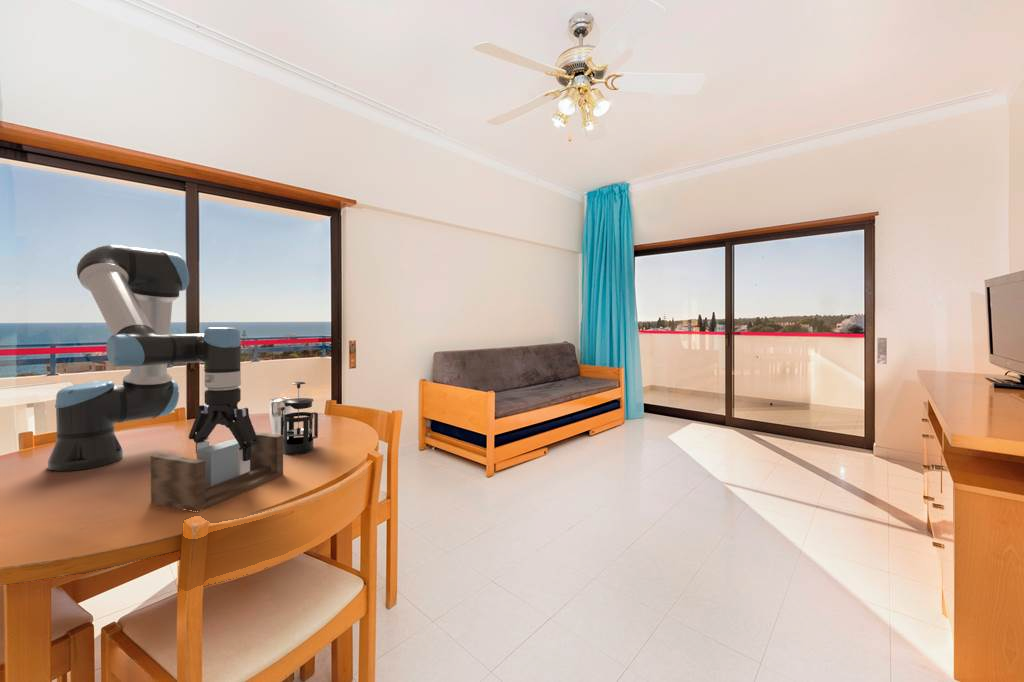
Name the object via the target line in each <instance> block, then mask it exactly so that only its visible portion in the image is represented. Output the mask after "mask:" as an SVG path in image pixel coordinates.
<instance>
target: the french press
mask: <svg viewBox="0 0 1024 682" xmlns="http://www.w3.org/2000/svg"><path fill="white" fill-rule="evenodd" d="M305 384H306V382H305V381H295V382H292V383H291V385H294V386H295V385H296V388H297V397H296V398H291V399H288V400H285V401H283V403H285V407H287V406H291V407H292V409H294V410H297V412H292V413H289V414H286V415H284V416H283V421H284V441H283V453H284V454H283V455H287V454H288V456H296V455H295V454H298V455H303V454H302V453H304V454H307V453H306V452H308V453H310V452H309V451H311V450H313V449H315V447H314V440H315V439H317V438H318V436H319V424H318V423H319V414H318V412H315V411H314V412H309V411H300V410H305V409H309V408H311V407H313V402H314V401H315V400H314V398H311V397H309V398H308V397H300V389H301V385H305ZM313 421H314V422H313ZM287 422H289V430H288V431H287ZM301 422H303V423H302V424H303V425H302V427H301V428H300V423H301ZM295 423H297V428H295ZM287 436H289V439H287ZM313 451H314V450H313ZM311 452H312V451H311Z"/></svg>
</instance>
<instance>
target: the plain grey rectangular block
mask: <svg viewBox="0 0 1024 682" xmlns="http://www.w3.org/2000/svg"><path fill="white" fill-rule="evenodd" d="M244 443H246V442H244ZM239 448H240V445H239V444H238V442H237V440H236V439H235V438H232V439H229V440H225V441H222V442H219V443H215V444H212V445H209V446H208V447H205V448H201V449H198V450H197V454H196V459H198V460H204V461H205V489H207V488H209V487H212V486H215V485H217V484H220V483H222V482H225V481H227V480H230V479H232V478H235V477H237V476H240V475H238V449H239ZM247 473H248V472H247ZM244 474H245V473H244ZM241 475H243V474H241Z"/></svg>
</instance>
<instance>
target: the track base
mask: <svg viewBox="0 0 1024 682" xmlns="http://www.w3.org/2000/svg"><path fill="white" fill-rule="evenodd" d="M255 433H256V436H257V438H258V441H259V443H258V444H257V445H254V446H252V448H251V460H250V471H249V472H248V473H245V474H243V475H240V476H237V477H235V478H232V479H230V480H227V481H225V482H222V483H220V484H217V485H215V486H212V487H209V488H207V489H205V461H204V460H198V459H197V458H190V457H184V456H176V455H171V454H170V455H169V454H164V453H158V454H154V455H152V456H150V503H151V505H156V506H161V505H163V506H162V507H166V506H169V507H168V508H171V507H174V508H173V509H176V508H179V509H178V510H181V509H186V510H192V511H196V512H197V511H199V512H201V511H203V510H205V509H208V508H210V507H212V506H215V505H218V504H219V503H221V502H224V501H226V500H228V499H230V498H233V497H235V496H237V495H239V494H240V495H241V494H242V493H244V492H247V491H249V490H251V489H253V488H256V487H258V486H260V485H262V484H265V483H267V482H269V481H271V480H275V479H276V478H278V477H281V476H283V475H284V454H283V435H276V434H272V433H266V432H258V431H255ZM252 441H253V440H252ZM202 509H203V510H202ZM186 510H185V511H186ZM200 510H201V511H200ZM196 512H195V513H196ZM197 513H198V512H197Z"/></svg>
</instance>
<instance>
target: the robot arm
mask: <svg viewBox="0 0 1024 682" xmlns="http://www.w3.org/2000/svg"><path fill="white" fill-rule="evenodd" d="M189 272H190V271H189V269H188V265H187V263H186V261H185V260H184V258H183V257H182V256H181V255H180V254H178V253H174V252H170V251H165V250H159V249H149V248H142V247H133V246H124V245H117V244H111V245H110V244H108V245H103V246H98V247H96V248H93V249H91V250H89V251H88V252H86V253H85V254H84V255H83V256H82V257H81V258H80V260H79V262H78V263H77V265H76V275H77V278H78V280H79V281H78V282H79V283H80V285H81V286H82V287H83V288H84V289H85V290H88V291H89V292H90V293H91V295H92V297H93V299H94V302H95V303H96V305H97V307H98V309H99V311H100V312H101V315H102V318H103V319H104V320H105V323H106V325H107V327H108V329H109V332H110V333H111V335H110V336H109V337H108V339H107V341H106V347H105V348H106V350H105V351H106V354H107V360H108V362H109V363H110V364H111V365H113V366H115V367H130V372H128V374H126V375H124V376H123V378H122V379H123V380H122V384H115V383H114V382H113V381H112V380H99V381H89V382H83V383H79V384H78V383H77V384H73V385H70V386H66V387H64V388H61V389H60V390H58V391H57V392H56V397H55V405H54V408H55V412H56V413H55V414H56V419H55V420H56V424H55V425H56V442H55V444H54V446H53V448H52V451H51V452H50V455H49V458H48V460H47V469H48V470H49V469H50V470H49V471H51V470H54V472H72V471H81V470H87V469H93V468H98V467H102V466H105V465H110V464H112V463H115V462H117V461H120V460H121V459H122V458H123V457H124V456H123V455H124V453H123V450H124V449H123V447H122V445H121V444H120V442H119V440H118V437H117V435H116V433H115V424H118V423H125V422H133V421H138V420H145V419H146V420H147V419H157V418H158V417H165V416H168V415H170V414H171V413H172V412H174V411H175V409H176V407H177V405H178V402H179V397H180V391H179V389H180V388H179V385H178V383H177V381H176V380H173V376H171V374H169V373H168V372H167V371H168V365H172V364H189V363H192V364H193V363H204V364H203V365H204V366H203V367H204V369H203V370H204V371H203V372H204V387H205V388H206V389H205V390H204V392H203V393H204V404H201V405H198V406H197V413H196V416H195V419H194V422H193V424H192V427H191V429H190V432H189V434H188V439H189V440H192V441H193V442H194V443H195V454H196V455H197V450H198V449H201V448H205V447H208V446H210V440H209V436H211V434H212V432H213V431H214V429H215V428H216V427H217V425H221V426H225V428H228V429H229V431H230V433H232V436H233V437H234V439H236V440H237V442H238V444H239V445H240V448H239V449H238V475H241V474H244V473H247V472H249V471H250V460H251V448H252V446H254V445H257V444H258V443H259V441H258V438H257V436H256V433H255V432H256V431H255V428H254V426H253V423H252V421H251V418H250V414H249V412H250V411H249V408H248V407H243V408H242V407H241V408H238V407H239V406H238V404H239V403H240V402H241V399H242V397H241V396H242V395H241V393H242V389H241V388H240V386H241V385H242V382H241V381H242V379H241V377H242V374H241V371H242V370H241V358H242V357H241V346H242V340H241V332H240V329H239V328H236V327H222V326H221V327H219V326H218V327H206V328H205V329H204V332H200V333H199V332H195V333H171V323H172V322H171V321H172V310H173V309H172V308H173V301H175V300H176V299H178V298H179V297H180V292H183V291H187V289H188V287H189V284H190V273H189ZM252 440H253V441H252ZM244 442H246V443H244ZM109 463H110V464H109Z"/></svg>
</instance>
